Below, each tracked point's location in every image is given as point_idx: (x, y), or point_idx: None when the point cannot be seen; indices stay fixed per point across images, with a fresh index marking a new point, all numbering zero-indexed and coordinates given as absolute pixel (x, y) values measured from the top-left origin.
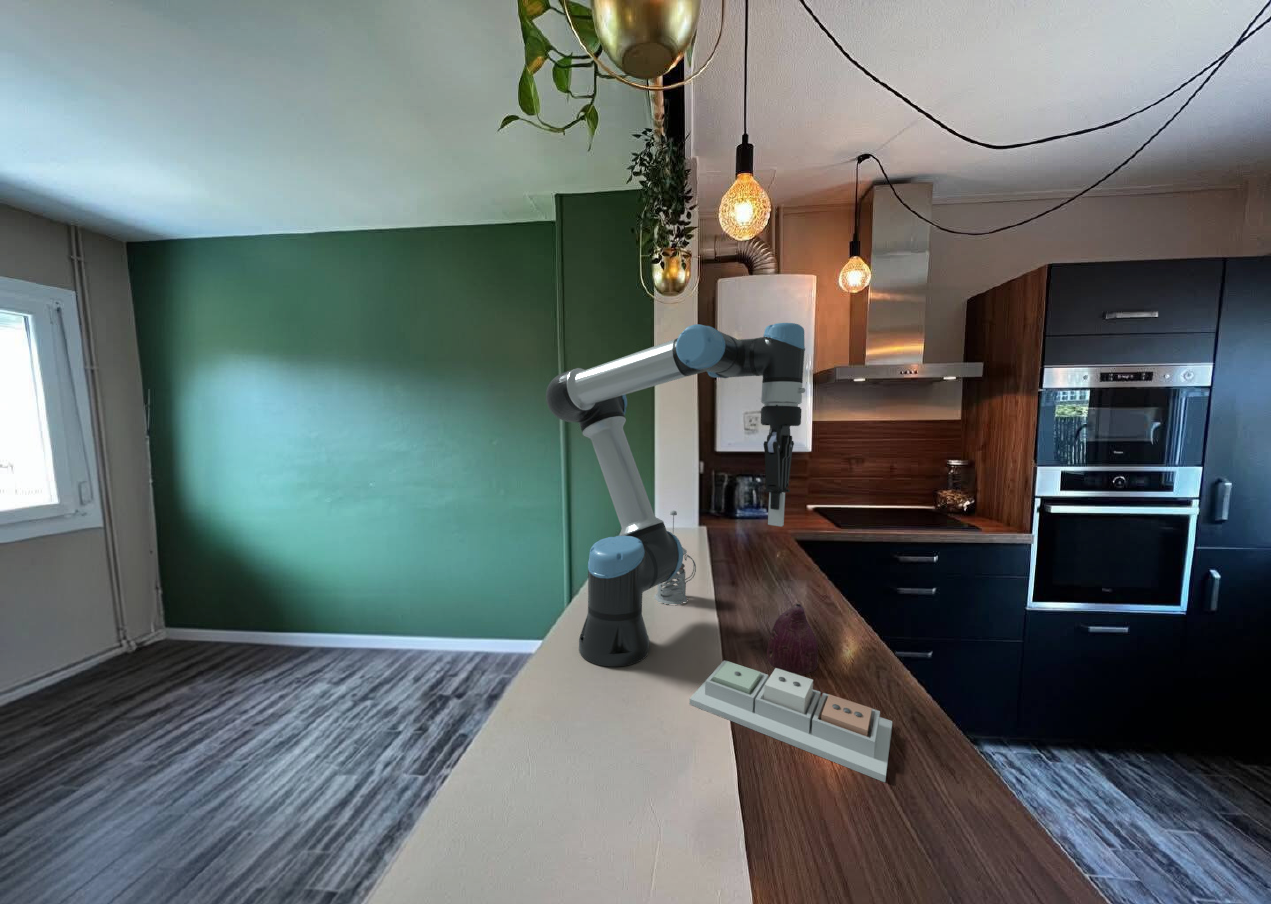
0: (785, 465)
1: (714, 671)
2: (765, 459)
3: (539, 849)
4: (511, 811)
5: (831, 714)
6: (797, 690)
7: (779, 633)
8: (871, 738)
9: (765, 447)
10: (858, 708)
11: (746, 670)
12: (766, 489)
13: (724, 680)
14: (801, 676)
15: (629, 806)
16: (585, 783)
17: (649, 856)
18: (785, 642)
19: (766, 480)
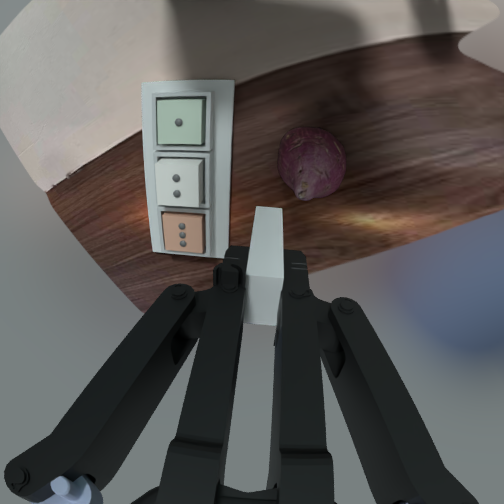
0: (271, 435)
1: (177, 92)
2: (73, 406)
3: (2, 99)
4: (6, 69)
5: (168, 223)
6: (166, 196)
7: (288, 154)
8: (164, 250)
9: (21, 459)
10: (194, 243)
11: (193, 128)
12: (174, 285)
13: (157, 114)
14: (197, 195)
15: (37, 115)
16: (34, 81)
17: (26, 145)
18: (281, 162)
19: (144, 317)
